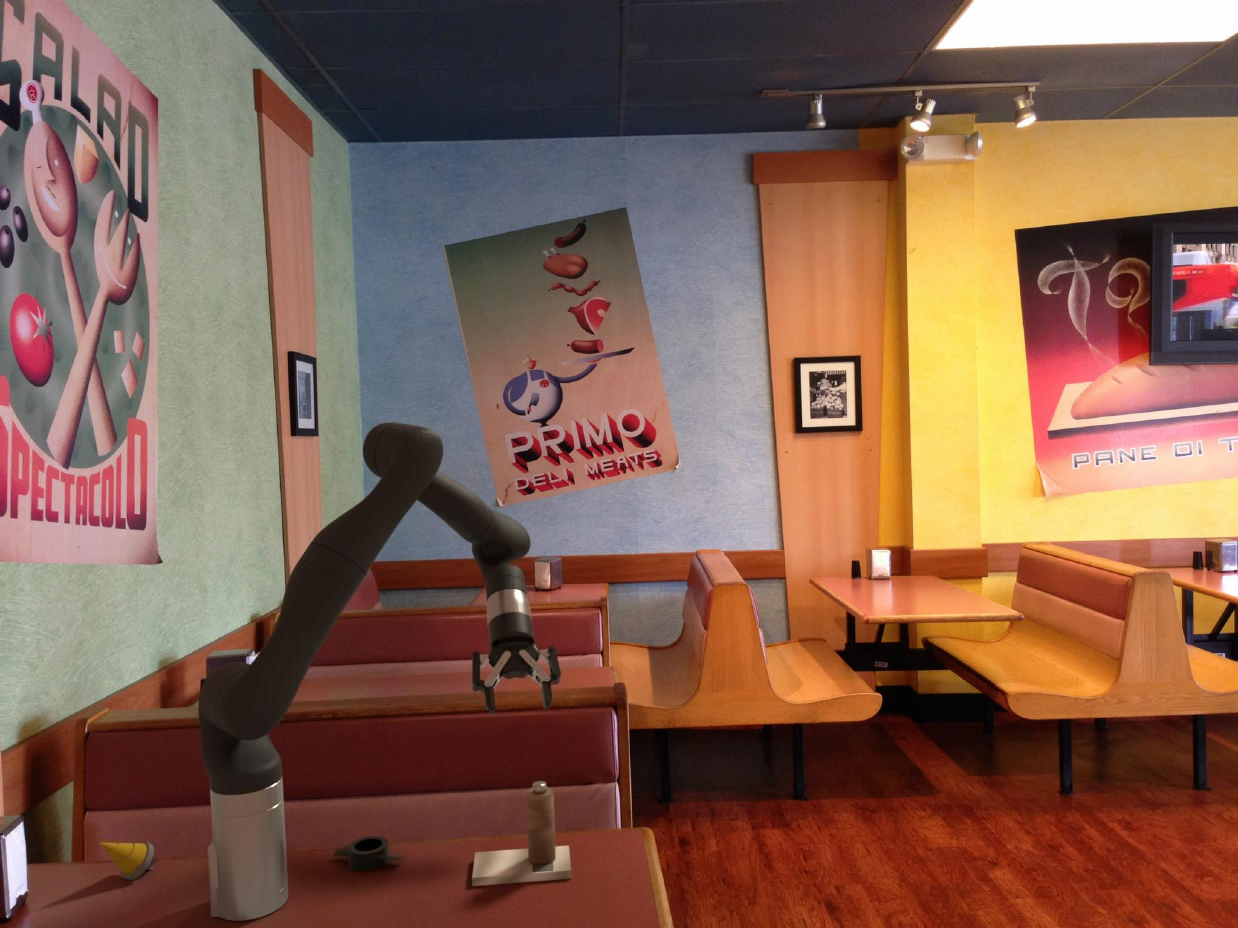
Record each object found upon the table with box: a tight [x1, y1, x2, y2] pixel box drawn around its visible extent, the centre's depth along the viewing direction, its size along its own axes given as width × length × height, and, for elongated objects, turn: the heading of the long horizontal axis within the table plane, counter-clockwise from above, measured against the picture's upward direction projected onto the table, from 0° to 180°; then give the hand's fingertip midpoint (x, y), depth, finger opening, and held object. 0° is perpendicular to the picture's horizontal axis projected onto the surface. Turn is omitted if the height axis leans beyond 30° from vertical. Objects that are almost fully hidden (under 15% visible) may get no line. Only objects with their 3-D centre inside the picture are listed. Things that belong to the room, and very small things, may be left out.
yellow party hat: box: [99, 840, 159, 881], centre depth 134 cm, size 5×5×10 cm
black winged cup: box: [332, 835, 405, 873], centre depth 137 cm, size 8×10×3 cm
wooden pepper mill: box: [525, 780, 556, 865], centre depth 134 cm, size 4×4×11 cm
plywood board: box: [471, 845, 572, 887], centre depth 134 cm, size 14×8×1 cm, turn 96°
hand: (520, 709), depth 145 cm, fingers open, 8 cm apart
